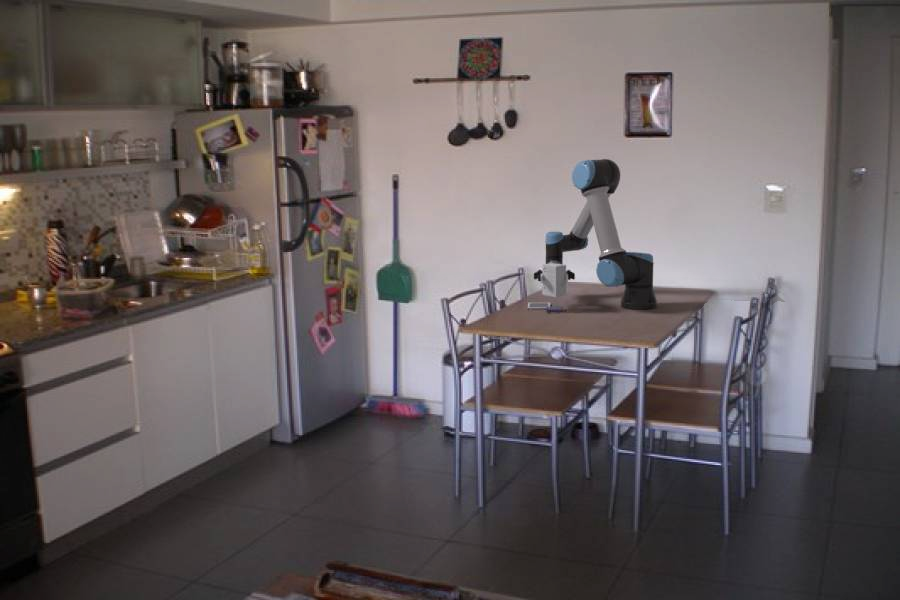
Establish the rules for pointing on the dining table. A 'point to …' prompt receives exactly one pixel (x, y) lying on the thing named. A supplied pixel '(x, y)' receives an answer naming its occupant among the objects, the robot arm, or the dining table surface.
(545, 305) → the print card
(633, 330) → the dining table surface
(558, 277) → the small box
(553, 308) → the ink pad
